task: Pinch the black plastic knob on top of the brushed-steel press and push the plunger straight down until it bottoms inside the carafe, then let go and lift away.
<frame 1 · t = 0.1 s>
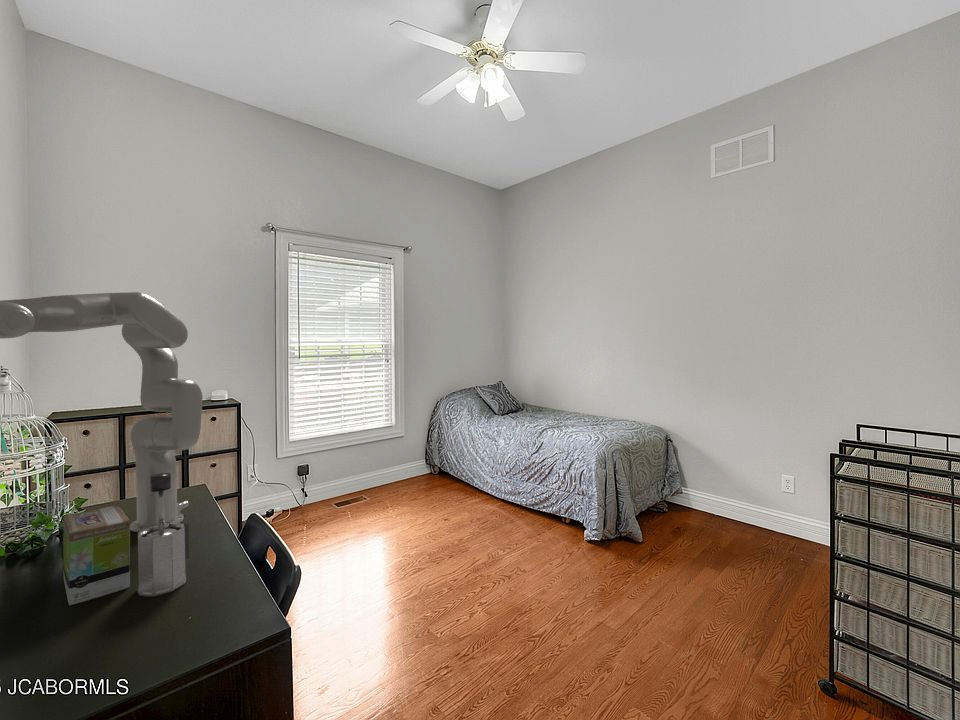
tea box: (96, 585, 95), on the table
plunger: (161, 505, 93), point 17 cm above the table, slide at 0.0 cm
carafe: (162, 585, 94), on the table
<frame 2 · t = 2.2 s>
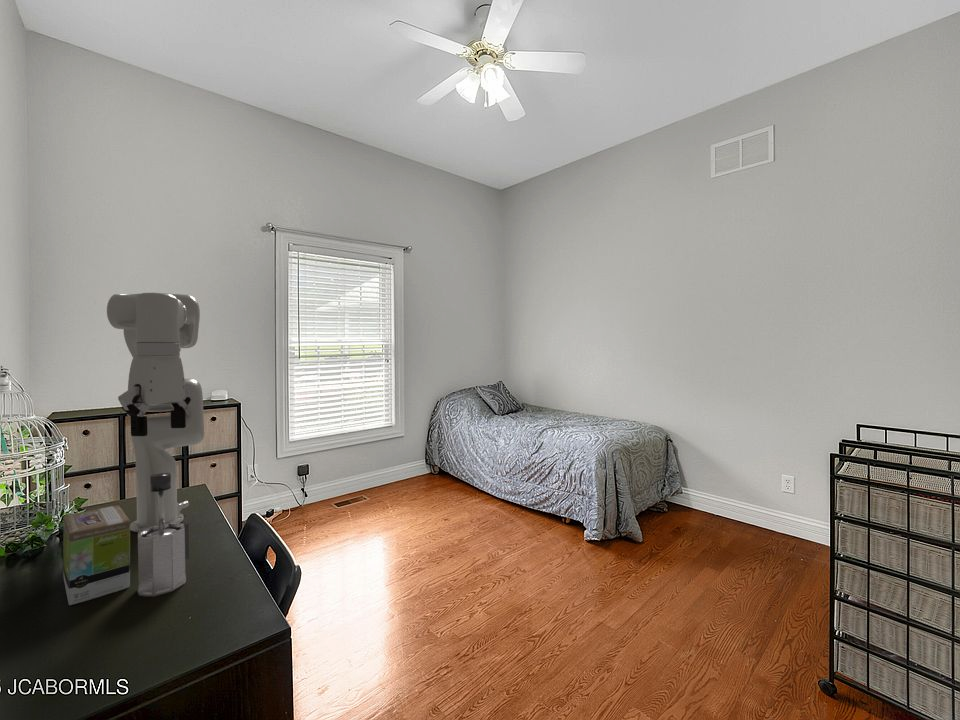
hand: (159, 431, 93), 33 cm above the table, fingers open, 9 cm apart
nothing on the table moved.
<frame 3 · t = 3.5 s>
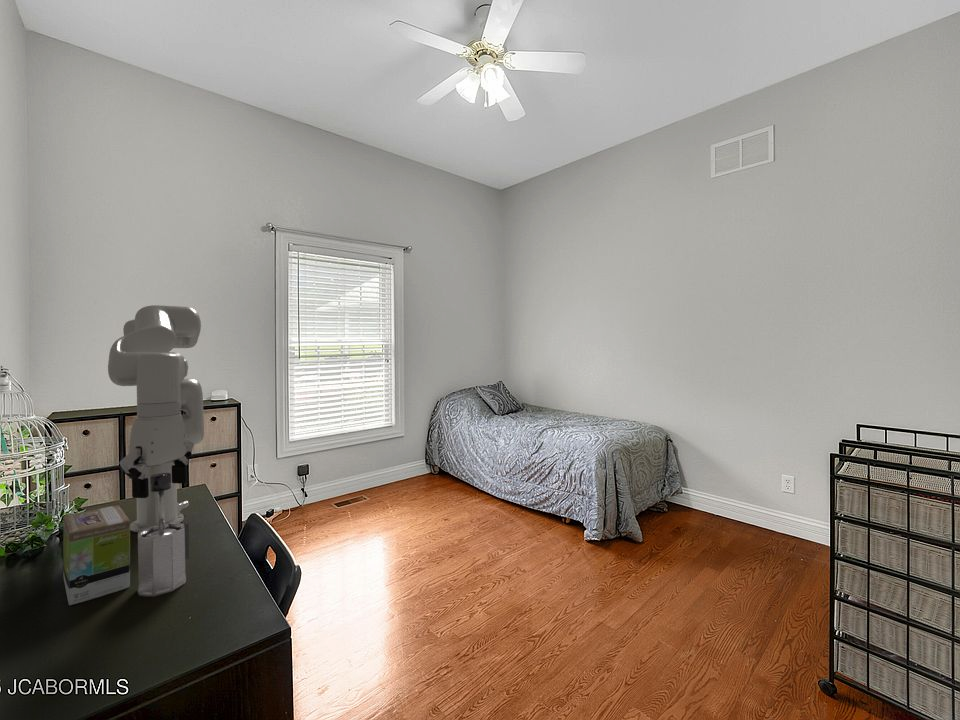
hand: (160, 489, 93), 21 cm above the table, fingers open, 9 cm apart
nothing on the table moved.
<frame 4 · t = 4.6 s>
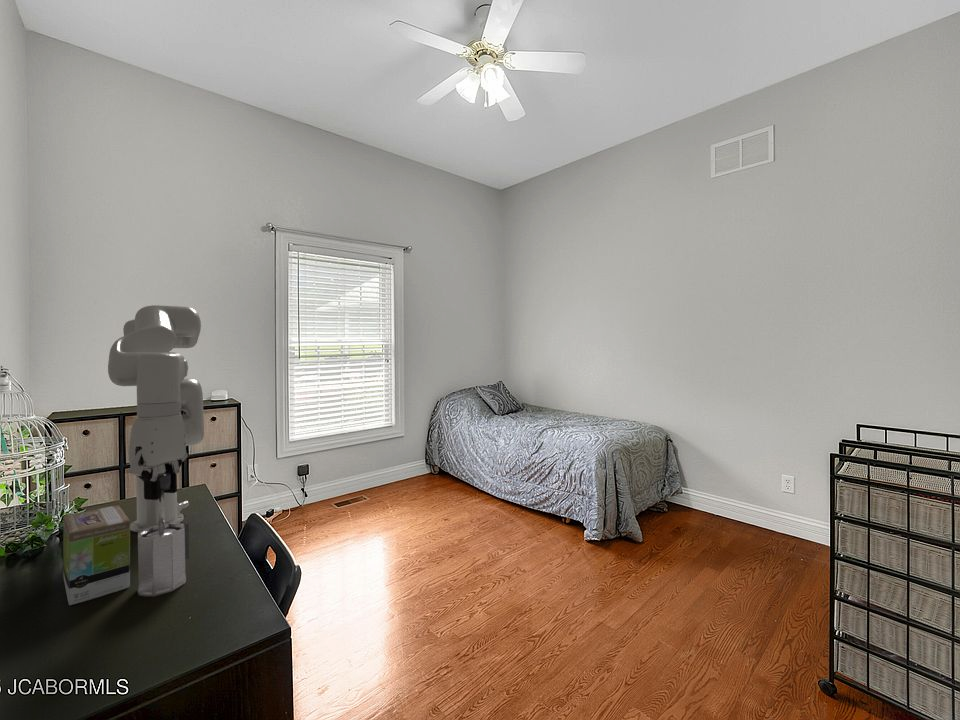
hand: (160, 494, 93), 20 cm above the table, fingers closed on plunger, 3 cm apart
plunger: (161, 506, 93), point 17 cm above the table, slide at 0.0 cm, touching gripper
everything else where it was.
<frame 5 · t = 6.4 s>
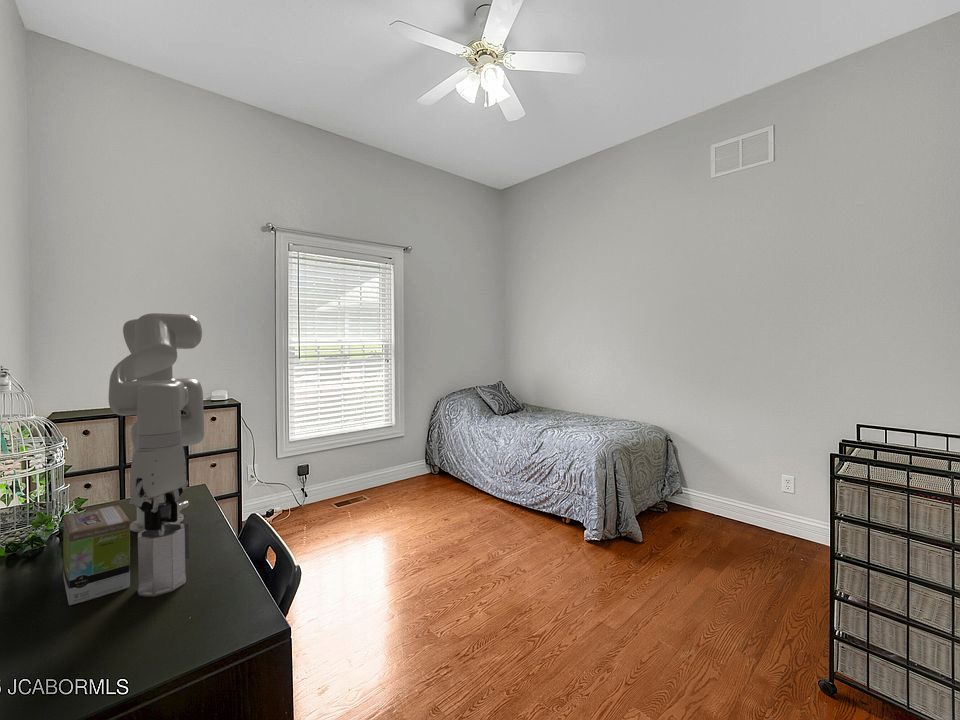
hand: (161, 524, 93), 13 cm above the table, fingers closed on plunger, 3 cm apart
plunger: (161, 535, 93), point 11 cm above the table, slide at 6.5 cm, touching gripper
everything else where it was.
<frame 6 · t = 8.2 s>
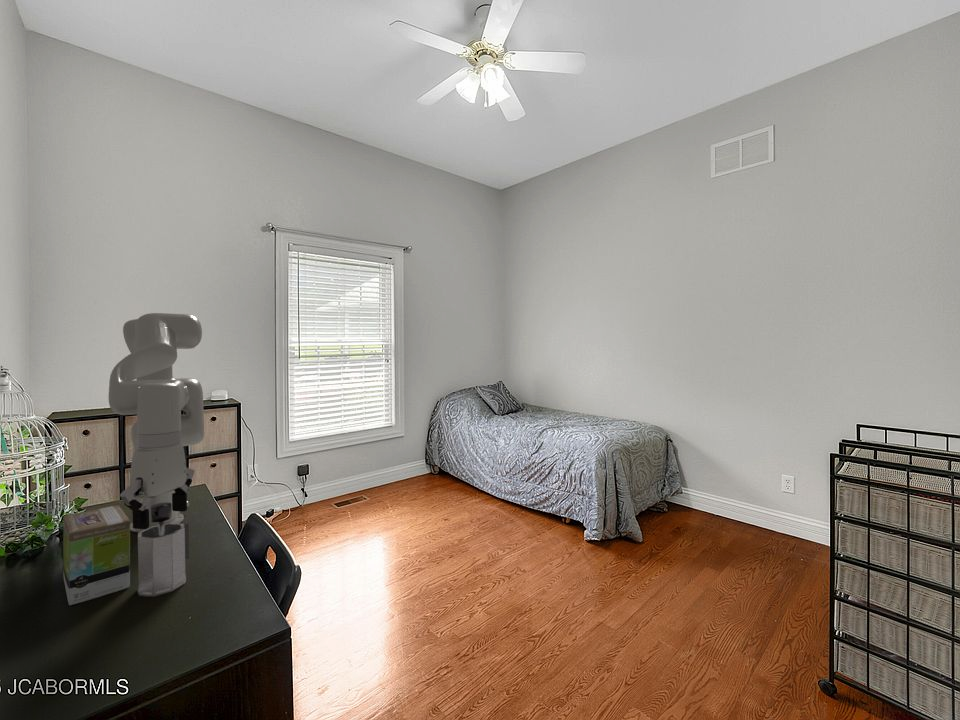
hand: (161, 519, 93), 14 cm above the table, fingers open, 9 cm apart
plunger: (161, 535, 93), point 11 cm above the table, slide at 6.5 cm
everything else where it was.
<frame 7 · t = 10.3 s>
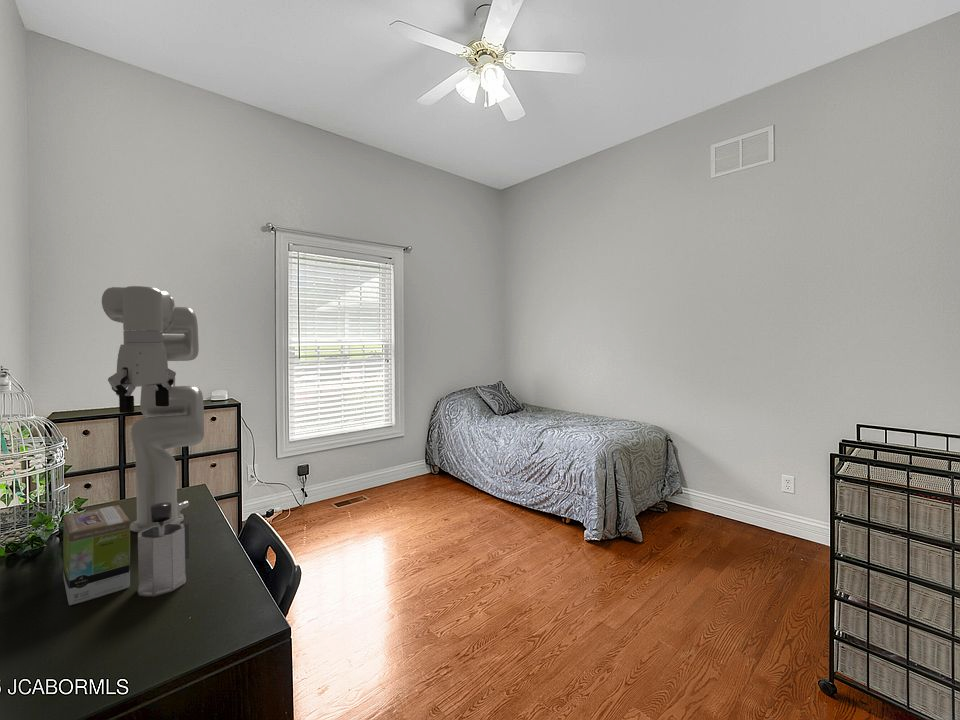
hand: (145, 409, 105), 37 cm above the table, fingers open, 9 cm apart
nothing on the table moved.
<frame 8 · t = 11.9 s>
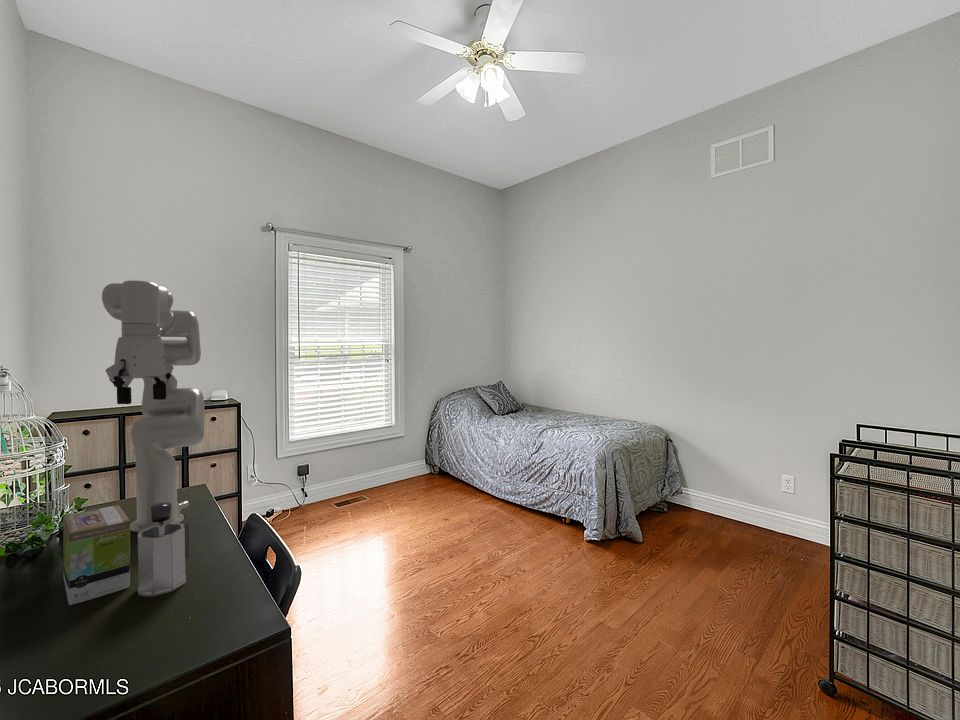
hand: (142, 401, 107), 38 cm above the table, fingers open, 9 cm apart
nothing on the table moved.
at the end: plunger slide at 6.5 cm; the gripper is holding nothing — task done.
